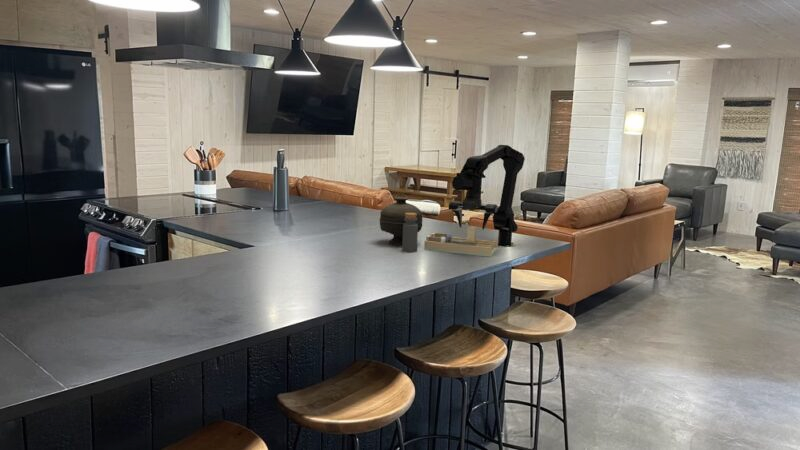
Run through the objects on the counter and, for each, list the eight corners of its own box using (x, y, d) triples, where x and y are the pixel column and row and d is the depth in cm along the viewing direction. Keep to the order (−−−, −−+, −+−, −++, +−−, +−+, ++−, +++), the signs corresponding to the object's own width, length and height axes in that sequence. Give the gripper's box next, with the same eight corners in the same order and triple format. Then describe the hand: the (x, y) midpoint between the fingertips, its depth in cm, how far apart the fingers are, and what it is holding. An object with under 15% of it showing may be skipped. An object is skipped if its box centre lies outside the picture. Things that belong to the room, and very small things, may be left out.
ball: (448, 236, 238) (448, 244, 239) (439, 235, 240) (440, 244, 240) (445, 237, 235) (446, 246, 236) (437, 237, 236) (437, 246, 237)
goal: (433, 241, 244) (433, 232, 244) (446, 243, 242) (447, 233, 242) (425, 246, 235) (426, 236, 234) (440, 247, 233) (440, 238, 232)
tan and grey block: (448, 244, 240) (449, 224, 238) (476, 247, 236) (477, 226, 234) (445, 246, 235) (446, 225, 233) (473, 249, 231) (474, 228, 230)
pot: (370, 243, 237) (374, 195, 235) (387, 240, 254) (391, 194, 252) (411, 249, 231) (415, 199, 229) (426, 245, 248) (430, 199, 246)
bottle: (415, 252, 227) (417, 215, 224) (400, 251, 228) (402, 214, 225) (418, 249, 233) (419, 212, 230) (403, 248, 234) (405, 211, 231)
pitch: (434, 243, 246) (434, 235, 246) (497, 250, 237) (498, 241, 237) (424, 249, 233) (424, 241, 233) (490, 256, 224) (491, 248, 224)
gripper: (445, 189, 225) (443, 229, 228) (493, 193, 219) (490, 233, 222) (453, 187, 236) (451, 225, 238) (499, 190, 229) (496, 229, 232)
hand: (471, 228), depth 232 cm, fingers open, 9 cm apart
